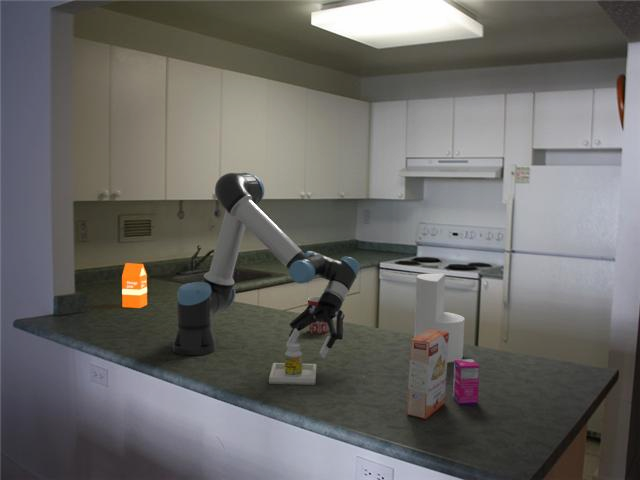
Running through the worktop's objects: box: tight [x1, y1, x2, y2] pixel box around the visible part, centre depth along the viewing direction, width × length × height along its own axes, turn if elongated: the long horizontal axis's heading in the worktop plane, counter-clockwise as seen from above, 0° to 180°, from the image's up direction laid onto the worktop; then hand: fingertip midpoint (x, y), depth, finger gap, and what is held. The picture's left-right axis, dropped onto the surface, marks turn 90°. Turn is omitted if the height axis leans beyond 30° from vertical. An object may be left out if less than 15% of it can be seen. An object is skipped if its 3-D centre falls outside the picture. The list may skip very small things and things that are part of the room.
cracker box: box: [406, 329, 449, 420], centre depth 165 cm, size 14×6×21 cm, turn 147°
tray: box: [268, 362, 317, 386], centre depth 190 cm, size 14×14×2 cm
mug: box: [307, 296, 329, 335], centre depth 245 cm, size 13×9×14 cm
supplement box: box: [452, 358, 480, 406], centre depth 172 cm, size 6×6×12 cm
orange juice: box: [121, 262, 148, 309], centre depth 283 cm, size 8×9×20 cm
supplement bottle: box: [284, 342, 303, 377], centre depth 190 cm, size 5×5×10 cm
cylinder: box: [413, 273, 465, 363], centre depth 215 cm, size 17×17×28 cm
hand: (304, 351), depth 193 cm, fingers open, 13 cm apart
